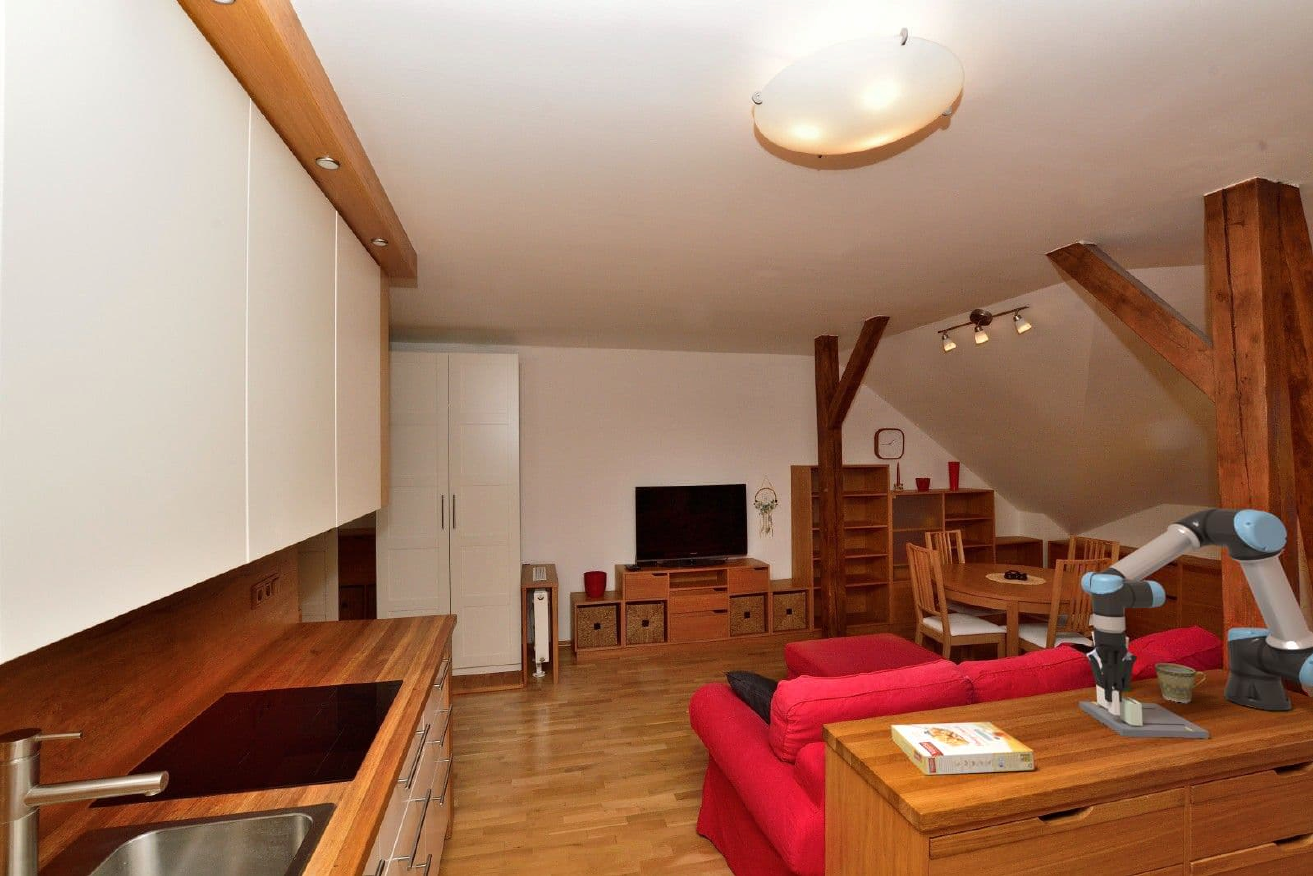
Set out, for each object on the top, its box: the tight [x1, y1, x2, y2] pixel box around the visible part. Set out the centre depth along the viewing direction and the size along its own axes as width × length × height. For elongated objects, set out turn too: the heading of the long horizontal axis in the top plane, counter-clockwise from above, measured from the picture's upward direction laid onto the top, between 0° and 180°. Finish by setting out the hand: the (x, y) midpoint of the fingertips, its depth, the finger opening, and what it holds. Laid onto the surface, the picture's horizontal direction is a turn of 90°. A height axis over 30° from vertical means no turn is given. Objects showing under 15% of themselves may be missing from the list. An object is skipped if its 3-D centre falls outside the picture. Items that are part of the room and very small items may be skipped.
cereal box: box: [891, 721, 1035, 776], centre depth 161 cm, size 20×6×28 cm
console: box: [1078, 700, 1210, 739], centre depth 180 cm, size 22×21×2 cm
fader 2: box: [1119, 696, 1143, 726], centre depth 175 cm, size 3×5×6 cm, turn 174°
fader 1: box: [1095, 683, 1114, 709], centre depth 187 cm, size 3×5×6 cm, turn 174°
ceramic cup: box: [1154, 662, 1206, 704], centre depth 198 cm, size 13×10×10 cm
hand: (1114, 713), depth 176 cm, fingers closed
